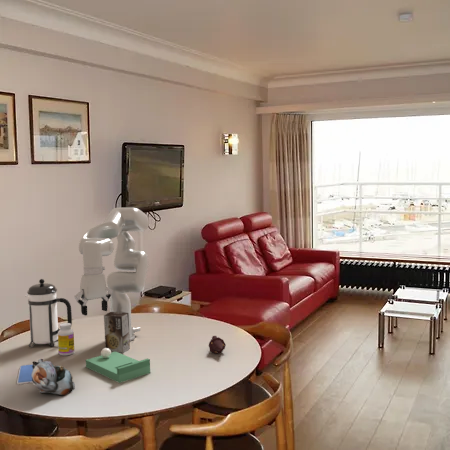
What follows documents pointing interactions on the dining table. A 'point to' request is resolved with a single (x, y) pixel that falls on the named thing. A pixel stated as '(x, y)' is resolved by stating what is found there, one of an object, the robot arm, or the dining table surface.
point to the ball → (105, 353)
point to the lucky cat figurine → (51, 378)
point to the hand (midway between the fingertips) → (94, 312)
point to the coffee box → (117, 331)
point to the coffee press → (44, 313)
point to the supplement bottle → (65, 339)
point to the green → (119, 366)
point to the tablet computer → (25, 374)
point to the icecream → (216, 345)
